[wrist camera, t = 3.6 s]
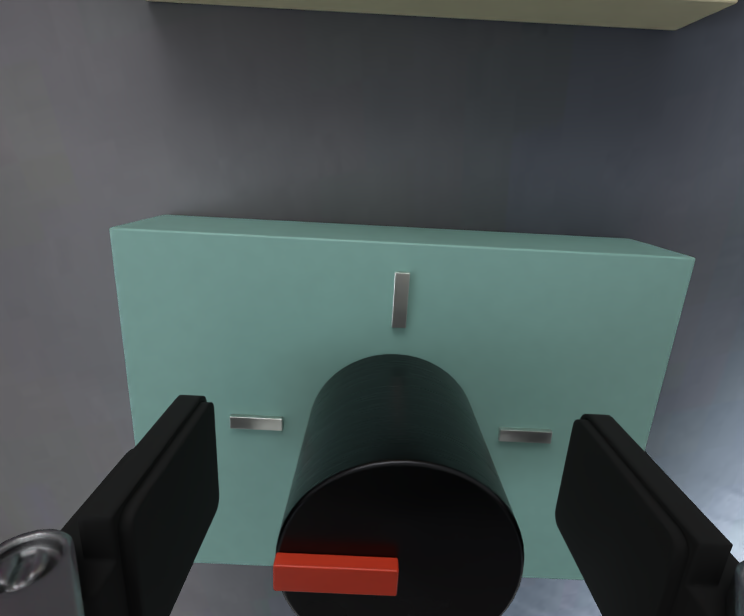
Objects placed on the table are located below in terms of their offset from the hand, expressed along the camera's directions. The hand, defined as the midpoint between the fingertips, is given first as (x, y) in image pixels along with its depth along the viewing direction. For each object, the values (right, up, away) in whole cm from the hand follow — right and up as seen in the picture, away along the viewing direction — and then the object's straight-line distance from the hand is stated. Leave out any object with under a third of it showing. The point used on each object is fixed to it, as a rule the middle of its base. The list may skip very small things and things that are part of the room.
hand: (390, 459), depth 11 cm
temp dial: (0, 0, +1) cm, 1 cm away
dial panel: (0, +1, +4) cm, 4 cm away
